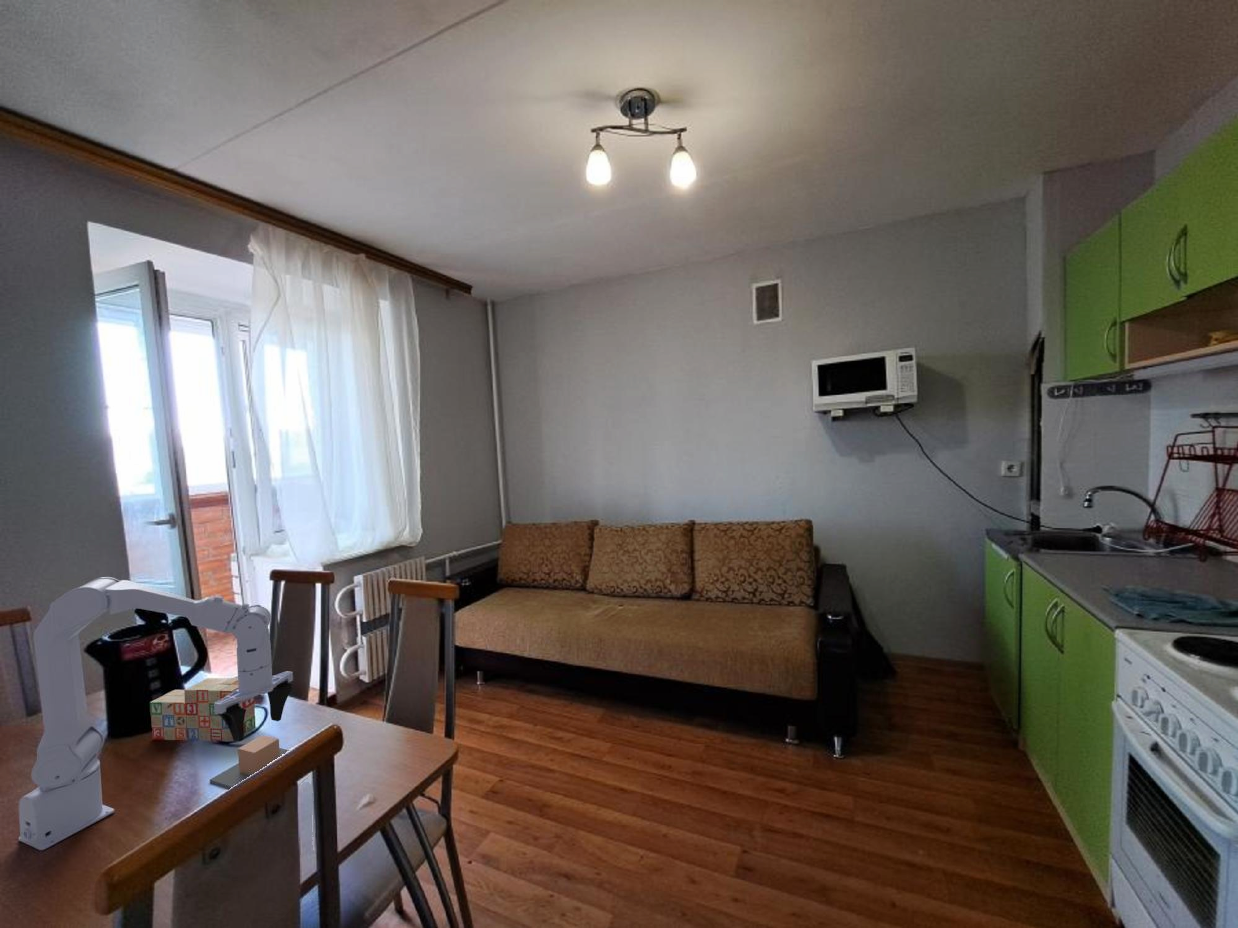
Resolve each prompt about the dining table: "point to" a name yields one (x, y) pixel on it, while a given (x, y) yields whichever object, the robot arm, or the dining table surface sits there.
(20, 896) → the dining table surface
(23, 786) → the dining table surface
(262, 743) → the tan cube
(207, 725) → the stack of blocks
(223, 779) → the charcoal mat
